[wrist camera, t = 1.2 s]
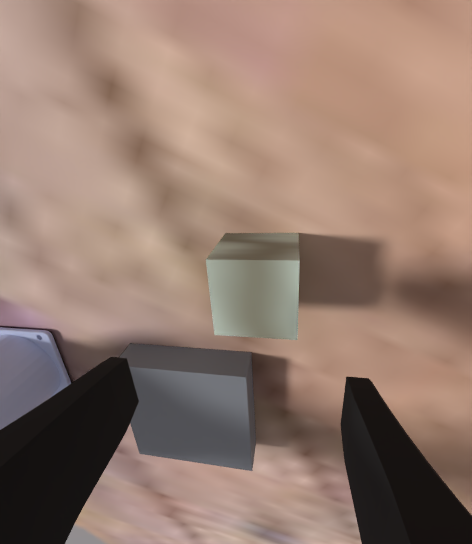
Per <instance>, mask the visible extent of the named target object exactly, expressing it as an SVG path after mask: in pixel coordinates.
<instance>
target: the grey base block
mask: <svg viewBox="0 0 472 544" xmlns="http://www.w3.org/2000/svg"><path fill="white" fill-rule="evenodd" d="M119 358H127V360H128V364H129V368H130V371H131V375H132V378H133V382H134V386H135V389H136V393H137V396H138V400H139V403H138V405H137V407H136V410H135V412H134V415H133V417H132V420H131V422H130V424H131V427H132V430H133V433H134V437H135V440H136V443H137V446H138V450H139V453H140V454H145V455H152V456H158V457H165V458H171V459H178V460H184V461H191V462H197V463H204V464H210V465H217V466H223V467H230V468H236V469H243V470H249V471H252V468H253V461H254V453H255V445H256V431H255V412H254V393H253V374H252V355H251V352H243V351H229V350H215V349H201V348H187V347H174V346H160V345H146V344H132V343H130V344H129V346H128V347H127V348H126V349H125V351H124V352H123V353H122V354H121V356H120V357H119Z"/></svg>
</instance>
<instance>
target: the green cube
mask: <svg viewBox="0 0 472 544" xmlns="http://www.w3.org/2000/svg"><path fill="white" fill-rule="evenodd" d="M299 264H300V258H299V233H226V234H225V235H224V236H223V237H222V239H221V240H220V241H219V243H218V244H217V245H216V247H215V248H214V249H213V251H212V252H211V253H210V255H209V256H208V258H207V259H206V265H207V274H208V282H209V291H210V300H211V308H212V317H213V326H214V334H215V335H225V336H241V337H257V338H273V339H289V340H297V335H298V300H299Z"/></svg>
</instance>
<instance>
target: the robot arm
mask: <svg viewBox="0 0 472 544" xmlns="http://www.w3.org/2000/svg"><path fill="white" fill-rule="evenodd" d="M138 403H139V400H138V396H137V393H136V389H135V386H134V382H133V378H132V375H131V371H130V368H129V364H128V360H127V358H117V357H110V358H109V359H107V360H106V361H104V362H102V363H101V364H99V365H98V366H96V367H95V368H93V369H92V370H90V371H89V372H87V373H86V374H84V375H83V376H82V377H80V378H79V379H77V380H76V381H74V382H73V383H71V381H70V378H69V376H68V373H67V371H66V368H65V366H64V363H63V361H62V358H61V356H60V353H59V351H58V348H57V346H56V343H55V341H54V338H53V335H52V334H51V333H50V332H49V331H46V330H33V329H18V328H2V327H0V544H65V542H66V540H67V538H68V536H69V534H70V532H71V530H72V528H73V525H74V523H75V521H76V520H77V518H78V516H79V514H80V512H81V510H82V508H83V506H84V505H85V503H86V501H87V499H88V498H89V496H90V494H91V492H92V491H93V489H94V487H95V485H96V484H97V482H98V480H99V478H100V477H101V475H102V473H103V472H104V470H105V468H106V466H107V465H108V463H109V461H110V459H111V458H112V456H113V454H114V452H115V451H116V449H117V447H118V445H119V444H120V442H121V440H122V438H123V436H124V435H125V433H126V431H127V429H128V426H129V424H130V422H131V420H132V417H133V415H134V412H135V410H136V407H137V405H138ZM341 433H342V442H343V451H344V459H345V465H346V470H347V475H348V480H349V485H350V489H351V494H352V499H353V504H354V508H355V513H356V518H357V522H358V527H359V532H360V537H361V541H362V544H472V515H471V514H470V513H469V512H468V511H467V509H466V508H465V507H464V506H463V505H462V503H461V502H460V501H459V500H458V499H457V498H456V496H455V495H454V494H453V493H452V491H451V490H450V489H449V488H448V486H447V485H446V484H445V483H444V482H443V480H442V479H441V478H440V477H439V475H438V474H437V473H436V472H435V470H434V469H433V468H432V466H431V465H430V464H429V463H428V461H427V460H426V459H425V457H424V456H423V455H422V453H421V452H420V451H419V449H418V448H417V447H416V445H415V444H414V443H413V441H412V440H411V439H410V437H409V436H408V435H407V433H406V432H405V430H404V429H403V428H402V426H401V425H400V423H399V422H398V421H397V419H396V418H395V416H394V415H393V413H392V412H391V411H390V409H389V408H388V406H387V405H386V403H385V402H384V400H383V399H382V397H381V396H380V394H379V392H378V391H377V389H376V388H375V386H374V384H373V383H372V382H371V381H370V380H369V378H357V377H346V385H345V393H344V401H343V409H342V418H341Z"/></svg>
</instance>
